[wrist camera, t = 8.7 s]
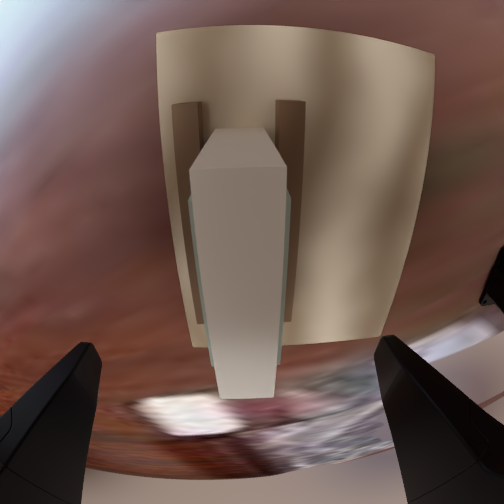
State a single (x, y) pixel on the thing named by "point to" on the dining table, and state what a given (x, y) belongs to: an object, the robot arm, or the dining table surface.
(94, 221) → the dining table surface
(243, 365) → the white block
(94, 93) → the dining table surface
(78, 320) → the dining table surface
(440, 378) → the robot arm
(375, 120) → the display stand
